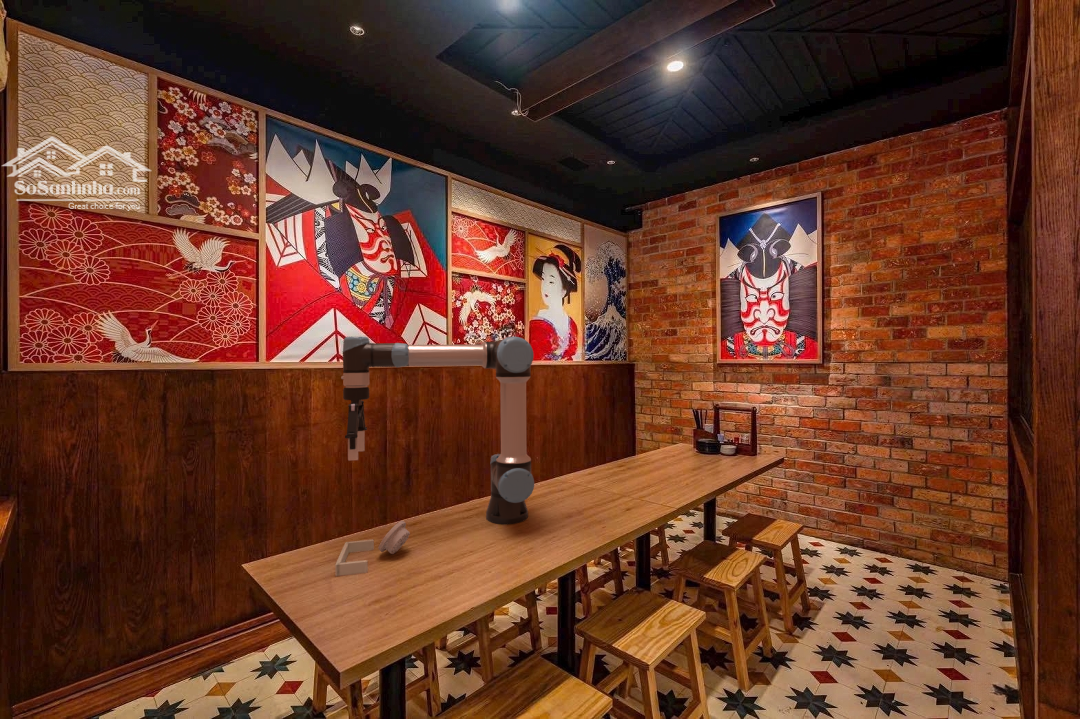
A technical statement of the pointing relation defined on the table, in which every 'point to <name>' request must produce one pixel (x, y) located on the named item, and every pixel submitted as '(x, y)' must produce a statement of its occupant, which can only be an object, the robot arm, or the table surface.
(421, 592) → the table surface
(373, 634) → the table surface
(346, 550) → the u-shaped bracket
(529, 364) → the robot arm
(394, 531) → the mechanical component
